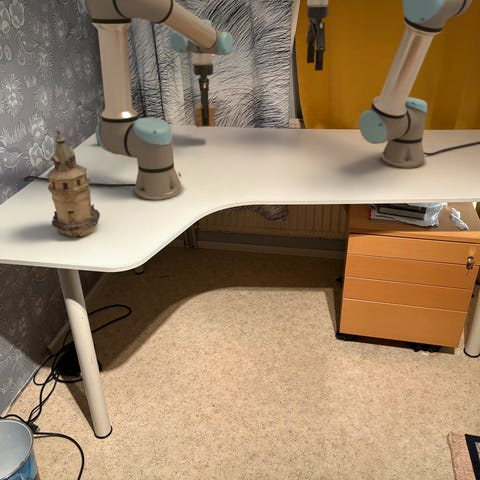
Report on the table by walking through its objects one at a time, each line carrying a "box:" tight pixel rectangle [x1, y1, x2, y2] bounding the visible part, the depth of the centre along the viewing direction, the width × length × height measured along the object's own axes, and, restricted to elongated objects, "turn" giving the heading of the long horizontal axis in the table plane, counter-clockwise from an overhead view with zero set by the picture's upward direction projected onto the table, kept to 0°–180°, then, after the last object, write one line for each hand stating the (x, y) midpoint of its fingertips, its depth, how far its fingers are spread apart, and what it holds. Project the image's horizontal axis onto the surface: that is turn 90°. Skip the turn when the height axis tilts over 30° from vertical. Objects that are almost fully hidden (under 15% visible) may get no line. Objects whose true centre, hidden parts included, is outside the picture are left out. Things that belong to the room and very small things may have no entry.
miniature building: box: [45, 129, 101, 237], centre depth 148 cm, size 13×14×30 cm
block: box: [194, 103, 216, 128], centre depth 214 cm, size 7×8×7 cm
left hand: (205, 122), depth 215 cm, fingers closed on block, 7 cm apart
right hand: (314, 66), depth 203 cm, fingers open, 13 cm apart
